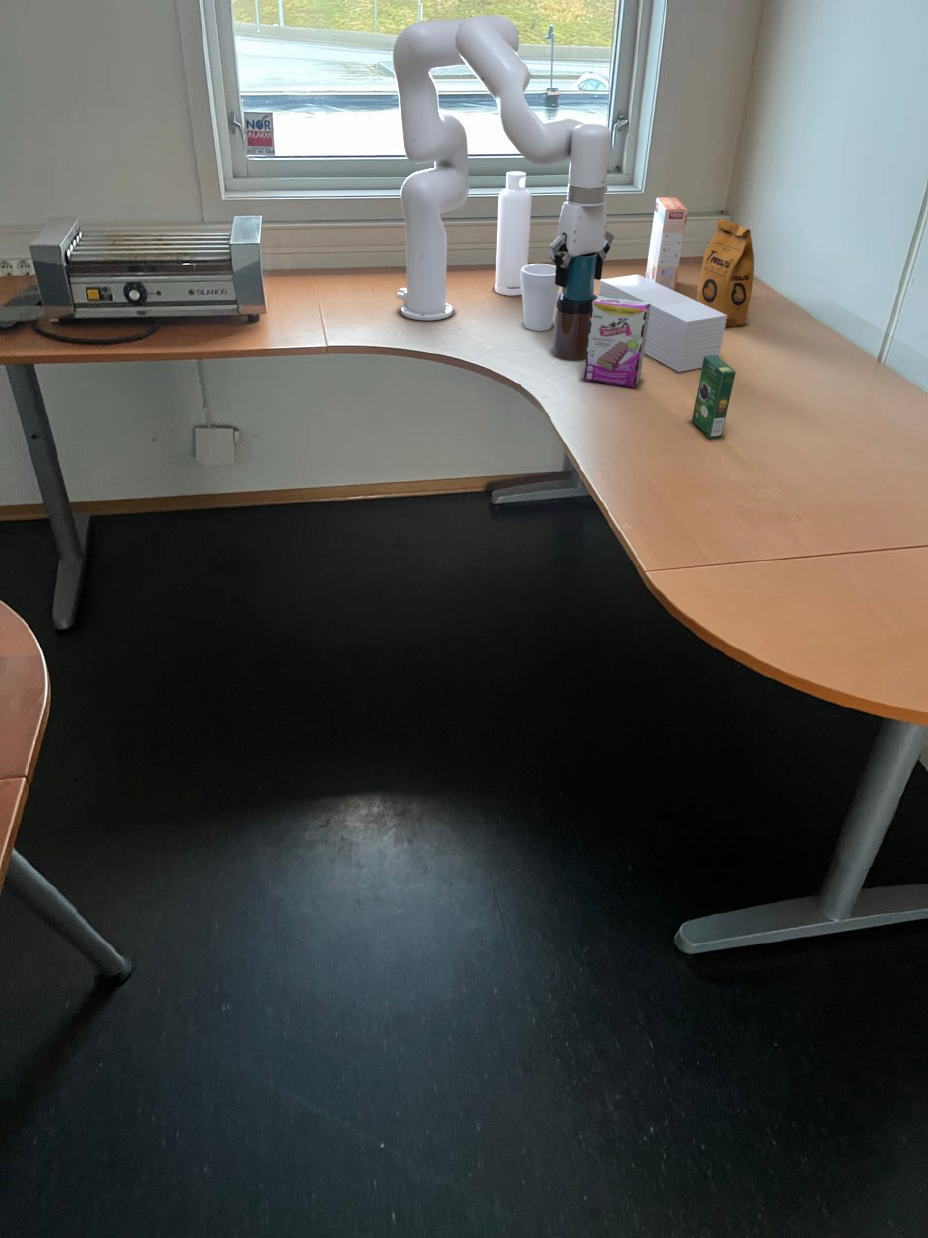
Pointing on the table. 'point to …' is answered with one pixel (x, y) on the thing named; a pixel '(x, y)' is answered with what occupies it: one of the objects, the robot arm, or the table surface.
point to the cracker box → (666, 241)
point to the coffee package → (728, 272)
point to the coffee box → (713, 396)
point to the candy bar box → (616, 341)
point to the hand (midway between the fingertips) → (578, 281)
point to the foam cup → (538, 295)
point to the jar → (571, 335)
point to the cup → (580, 278)
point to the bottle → (512, 233)
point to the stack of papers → (672, 322)
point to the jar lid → (574, 305)
